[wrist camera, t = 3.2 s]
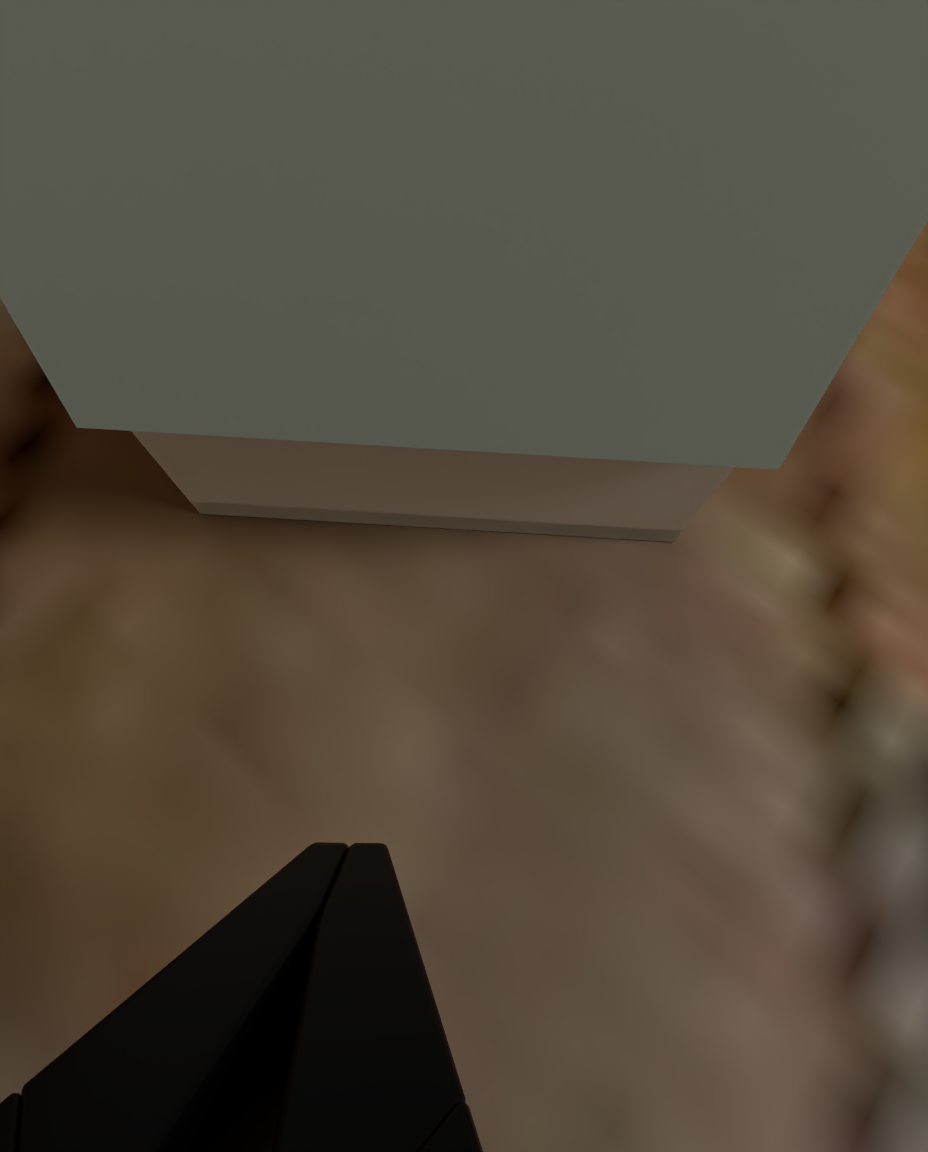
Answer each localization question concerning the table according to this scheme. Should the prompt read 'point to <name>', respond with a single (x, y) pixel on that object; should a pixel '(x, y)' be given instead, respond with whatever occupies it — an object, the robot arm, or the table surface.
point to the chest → (434, 486)
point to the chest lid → (459, 215)
